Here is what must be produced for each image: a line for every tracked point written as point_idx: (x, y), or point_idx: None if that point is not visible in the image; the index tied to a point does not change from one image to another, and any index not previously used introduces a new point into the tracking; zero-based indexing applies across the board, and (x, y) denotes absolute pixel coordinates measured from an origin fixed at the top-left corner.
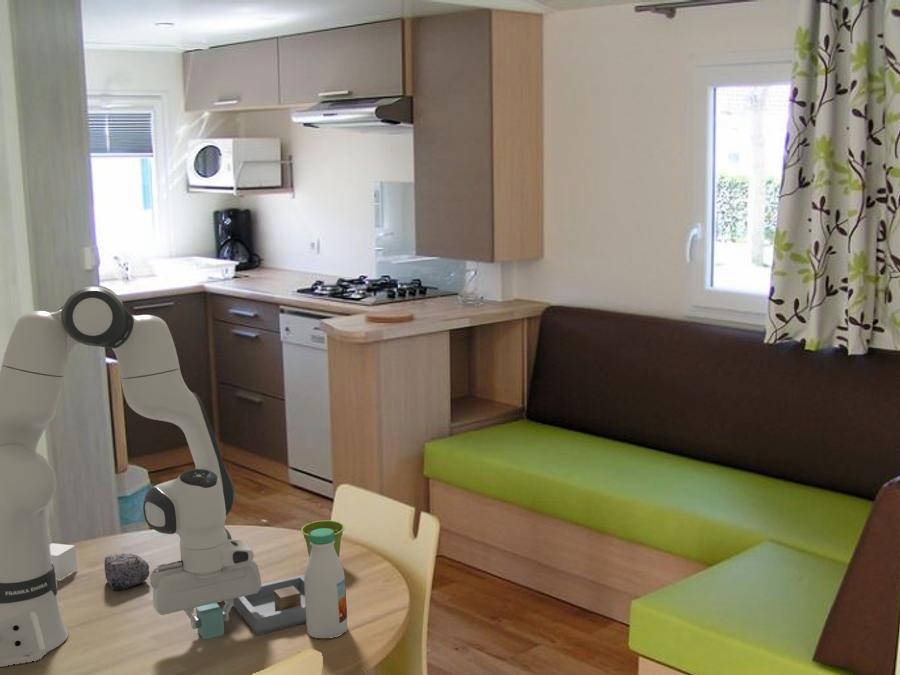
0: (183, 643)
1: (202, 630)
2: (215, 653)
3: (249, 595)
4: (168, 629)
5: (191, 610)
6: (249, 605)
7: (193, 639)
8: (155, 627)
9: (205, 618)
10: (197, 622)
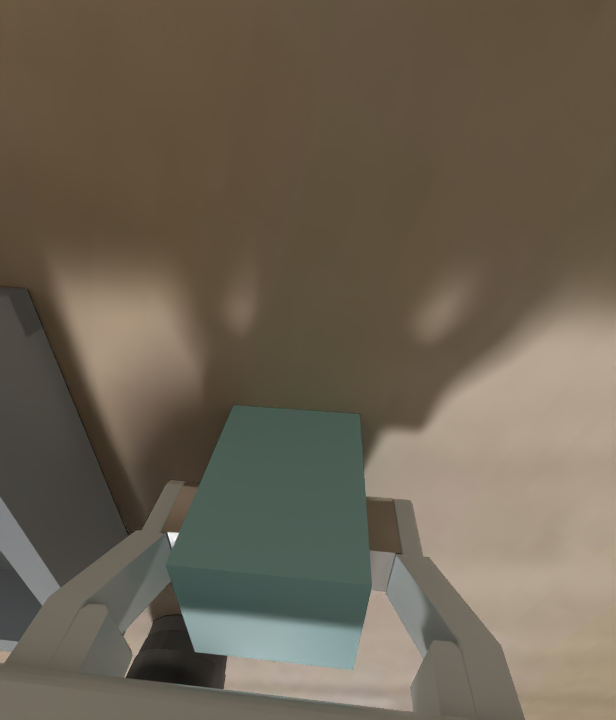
0: (477, 435)
1: (361, 464)
2: (373, 171)
3: None
4: (452, 568)
5: (461, 679)
6: (5, 540)
7: (406, 444)
8: (485, 599)
9: (336, 538)
10: (385, 534)
